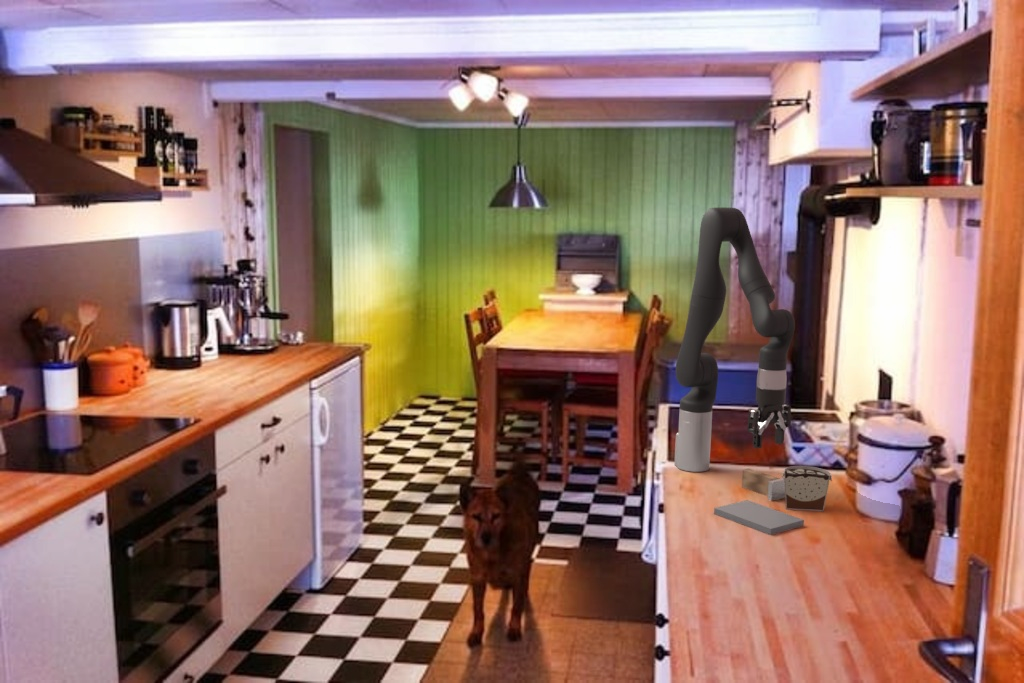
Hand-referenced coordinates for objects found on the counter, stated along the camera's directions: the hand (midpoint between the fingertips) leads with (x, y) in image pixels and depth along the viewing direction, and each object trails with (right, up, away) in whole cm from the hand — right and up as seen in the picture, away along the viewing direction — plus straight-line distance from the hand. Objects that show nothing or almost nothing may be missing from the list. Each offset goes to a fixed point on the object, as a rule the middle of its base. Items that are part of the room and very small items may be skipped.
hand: (768, 445), depth 272 cm
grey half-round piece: (+7, -15, -8) cm, 18 cm away
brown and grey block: (-1, -13, +3) cm, 13 cm away
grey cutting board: (-7, -16, -19) cm, 26 cm away
